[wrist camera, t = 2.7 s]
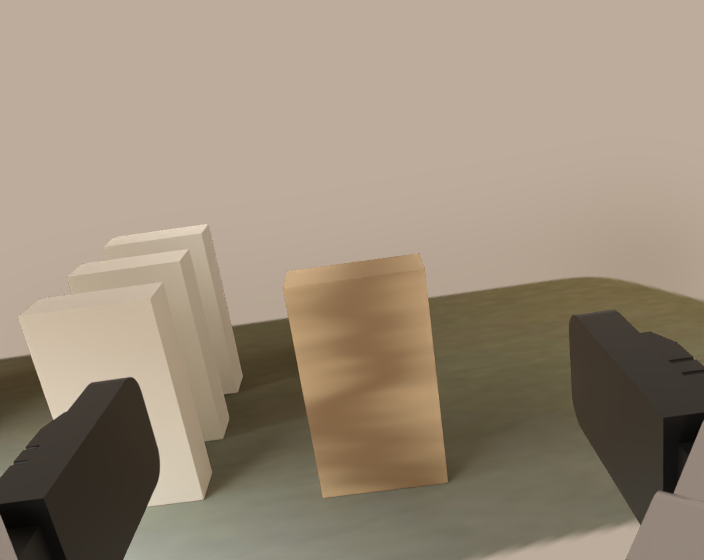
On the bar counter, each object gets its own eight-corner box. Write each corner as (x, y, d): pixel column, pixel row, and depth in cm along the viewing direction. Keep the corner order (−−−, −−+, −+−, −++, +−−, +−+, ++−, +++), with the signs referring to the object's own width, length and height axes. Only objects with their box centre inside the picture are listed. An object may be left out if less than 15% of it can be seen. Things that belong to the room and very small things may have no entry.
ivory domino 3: (85, 514, 27) (17, 316, 24) (101, 486, 29) (39, 298, 26) (203, 499, 27) (150, 298, 24) (212, 472, 29) (163, 281, 25)
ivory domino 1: (147, 404, 35) (102, 247, 32) (156, 387, 37) (114, 237, 34) (237, 392, 35) (201, 233, 32) (242, 376, 37) (208, 223, 34)
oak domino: (322, 497, 26) (283, 288, 23) (324, 470, 28) (287, 271, 25) (448, 483, 26) (424, 269, 23) (442, 455, 27) (419, 253, 24)
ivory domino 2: (120, 451, 31) (66, 276, 28) (132, 431, 33) (82, 263, 30) (222, 439, 31) (179, 261, 28) (229, 418, 33) (189, 248, 30)
